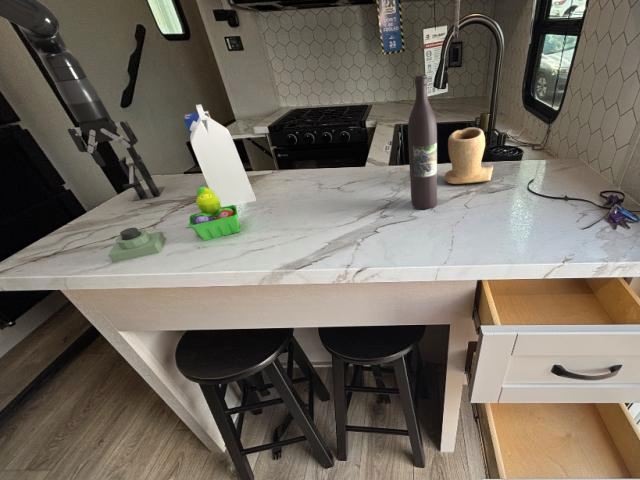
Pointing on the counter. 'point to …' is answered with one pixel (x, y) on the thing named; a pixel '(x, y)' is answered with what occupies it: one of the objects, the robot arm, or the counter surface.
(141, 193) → the bracket
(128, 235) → the button
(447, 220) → the counter surface
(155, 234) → the control block
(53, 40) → the robot arm
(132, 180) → the lever
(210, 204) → the fruit basket
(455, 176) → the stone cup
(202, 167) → the milk
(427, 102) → the wine bottle
